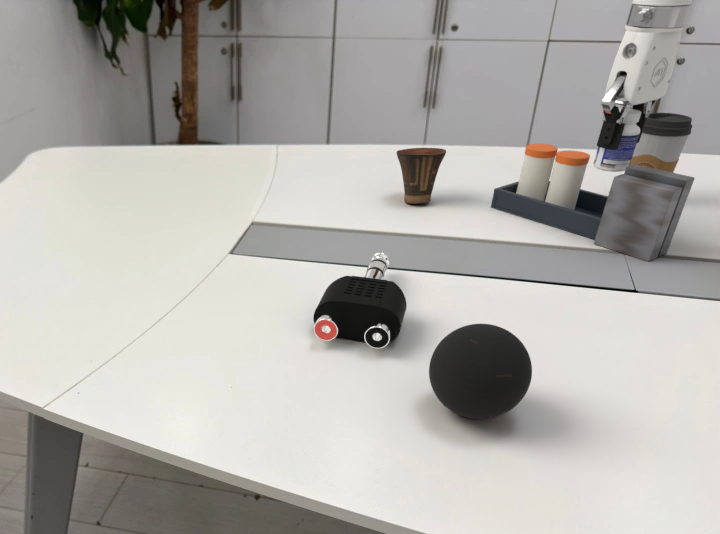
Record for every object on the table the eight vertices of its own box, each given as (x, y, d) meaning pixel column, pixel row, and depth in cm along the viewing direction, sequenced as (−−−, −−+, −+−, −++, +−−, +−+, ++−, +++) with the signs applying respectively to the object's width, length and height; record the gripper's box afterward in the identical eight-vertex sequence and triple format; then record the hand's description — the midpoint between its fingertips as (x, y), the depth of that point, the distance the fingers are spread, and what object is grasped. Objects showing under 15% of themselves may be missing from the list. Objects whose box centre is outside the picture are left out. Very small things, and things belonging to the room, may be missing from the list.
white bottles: (579, 212, 120) (596, 154, 115) (562, 219, 118) (578, 160, 112) (524, 197, 128) (537, 142, 123) (507, 202, 126) (519, 146, 120)
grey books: (666, 253, 106) (695, 177, 99) (648, 261, 104) (676, 184, 97) (611, 236, 112) (634, 164, 105) (593, 244, 110) (615, 170, 103)
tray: (640, 226, 116) (646, 206, 114) (601, 242, 110) (607, 221, 108) (529, 194, 131) (533, 176, 129) (490, 207, 126) (494, 188, 124)
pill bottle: (635, 170, 109) (654, 113, 104) (608, 173, 108) (625, 116, 103) (612, 161, 114) (629, 106, 109) (585, 164, 113) (601, 108, 108)
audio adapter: (309, 307, 83) (347, 235, 102) (307, 345, 86) (344, 268, 105) (400, 320, 79) (422, 243, 99) (394, 359, 82) (416, 276, 102)
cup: (413, 190, 135) (420, 139, 129) (448, 202, 129) (457, 148, 123) (380, 199, 131) (386, 146, 126) (415, 211, 125) (422, 156, 119)
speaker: (452, 374, 79) (468, 298, 74) (536, 409, 73) (560, 329, 67) (404, 410, 74) (417, 330, 68) (490, 451, 67) (512, 367, 62)
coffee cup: (607, 201, 126) (632, 118, 118) (624, 191, 131) (650, 109, 122) (655, 212, 121) (686, 125, 113) (672, 200, 125) (702, 116, 117)
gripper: (650, 25, 92) (609, 159, 102) (713, 15, 100) (669, 141, 110) (598, 21, 98) (564, 149, 108) (661, 12, 105) (624, 132, 115)
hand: (617, 143), depth 109 cm, fingers closed on pill bottle, 5 cm apart
